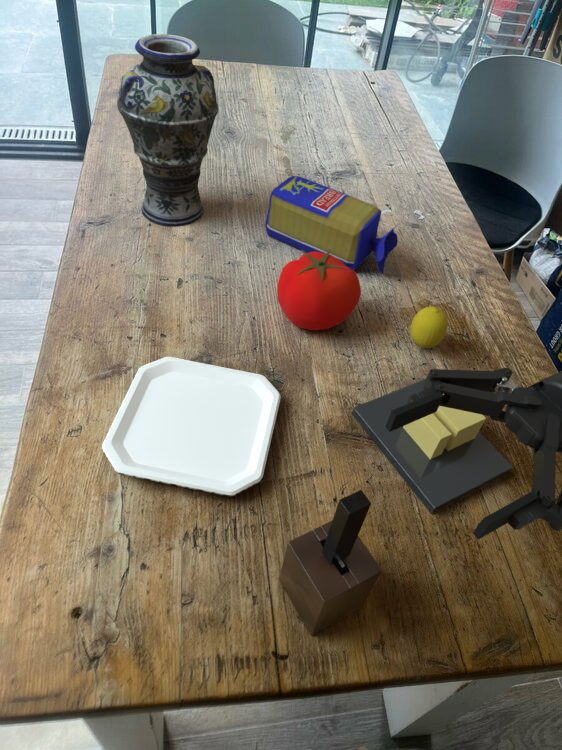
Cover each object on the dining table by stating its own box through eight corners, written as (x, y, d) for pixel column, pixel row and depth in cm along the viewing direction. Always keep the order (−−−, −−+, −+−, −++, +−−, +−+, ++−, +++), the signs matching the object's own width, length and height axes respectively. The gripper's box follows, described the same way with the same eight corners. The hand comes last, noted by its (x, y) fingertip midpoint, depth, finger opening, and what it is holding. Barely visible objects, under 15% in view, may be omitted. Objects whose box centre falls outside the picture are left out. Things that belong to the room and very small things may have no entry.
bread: (285, 214, 118) (291, 167, 110) (396, 261, 111) (411, 213, 103) (258, 236, 112) (263, 187, 104) (374, 287, 105) (388, 238, 97)
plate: (283, 388, 86) (285, 378, 84) (255, 509, 71) (257, 499, 70) (147, 361, 86) (146, 350, 85) (93, 475, 72) (91, 465, 71)
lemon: (416, 361, 93) (431, 323, 87) (398, 338, 96) (411, 300, 90) (444, 353, 94) (461, 316, 89) (425, 331, 98) (440, 294, 92)
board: (509, 473, 79) (513, 467, 78) (431, 514, 73) (434, 508, 72) (425, 384, 89) (428, 377, 88) (351, 414, 84) (353, 407, 82)
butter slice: (441, 454, 78) (452, 434, 75) (430, 459, 77) (440, 439, 74) (413, 422, 82) (422, 402, 78) (402, 427, 81) (411, 406, 78)
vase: (113, 197, 116) (94, 30, 94) (191, 181, 123) (190, 22, 102) (148, 241, 107) (136, 68, 85) (230, 220, 114) (238, 56, 93)
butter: (474, 438, 81) (486, 418, 78) (448, 451, 79) (458, 431, 76) (446, 408, 84) (456, 387, 81) (420, 419, 82) (429, 399, 79)
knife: (337, 599, 65) (376, 509, 51) (319, 609, 64) (353, 520, 50) (322, 576, 66) (356, 483, 52) (304, 585, 65) (334, 493, 51)
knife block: (364, 605, 65) (382, 570, 58) (311, 636, 62) (324, 602, 55) (329, 553, 68) (343, 514, 62) (278, 579, 66) (287, 541, 59)
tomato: (280, 288, 102) (288, 231, 93) (356, 303, 101) (370, 247, 93) (266, 333, 93) (273, 276, 85) (348, 350, 93) (363, 294, 84)
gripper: (652, 508, 61) (508, 601, 52) (487, 352, 74) (352, 406, 66) (697, 467, 55) (545, 564, 47) (510, 308, 69) (366, 360, 60)
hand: (432, 471), depth 56 cm, fingers open, 13 cm apart
